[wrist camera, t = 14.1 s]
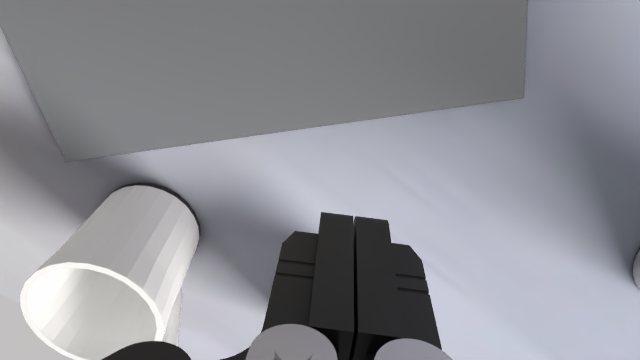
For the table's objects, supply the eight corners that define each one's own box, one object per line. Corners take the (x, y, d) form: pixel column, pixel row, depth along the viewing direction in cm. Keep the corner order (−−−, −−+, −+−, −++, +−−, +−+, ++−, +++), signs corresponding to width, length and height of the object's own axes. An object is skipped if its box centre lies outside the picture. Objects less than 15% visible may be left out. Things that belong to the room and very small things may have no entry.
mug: (74, 211, 38) (-10, 302, 29) (151, 156, 35) (85, 238, 26) (168, 297, 42) (120, 399, 33) (244, 254, 39) (214, 353, 30)
